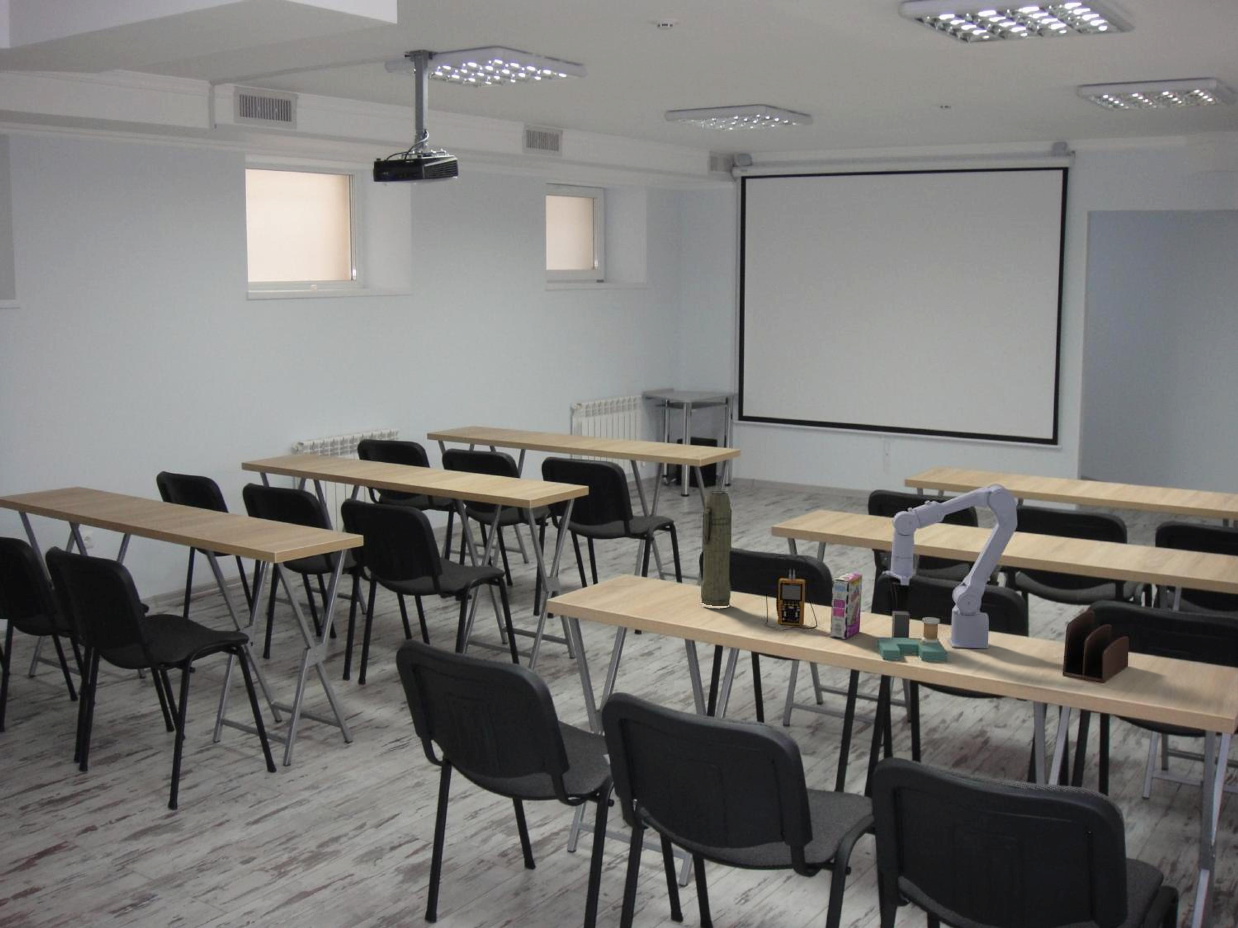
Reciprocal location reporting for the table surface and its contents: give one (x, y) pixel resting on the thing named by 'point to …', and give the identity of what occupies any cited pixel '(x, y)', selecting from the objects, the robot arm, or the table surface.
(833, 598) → the candy bar box
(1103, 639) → the letter holder
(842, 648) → the table surface
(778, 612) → the multimeter
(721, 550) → the thermos
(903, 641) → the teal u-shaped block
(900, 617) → the terminal peg
